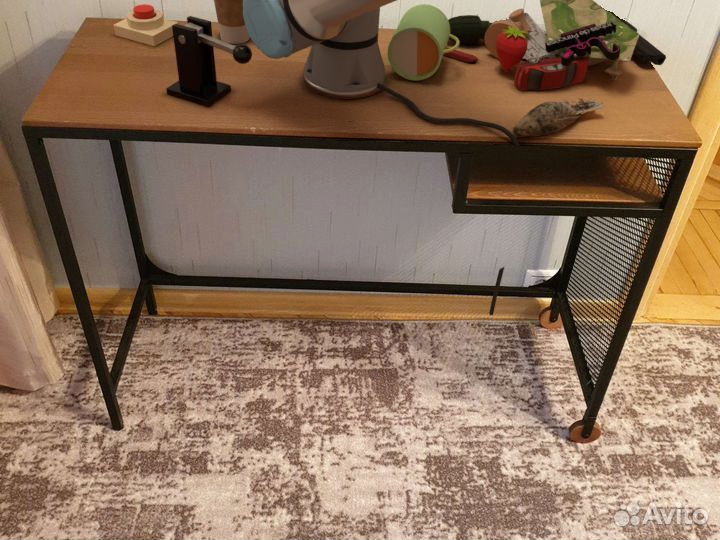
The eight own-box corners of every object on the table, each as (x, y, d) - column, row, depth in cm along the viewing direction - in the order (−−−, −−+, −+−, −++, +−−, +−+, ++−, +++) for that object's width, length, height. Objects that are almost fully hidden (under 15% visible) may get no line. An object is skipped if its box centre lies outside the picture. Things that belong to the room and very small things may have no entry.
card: (552, -15, 154) (552, -18, 153) (671, 2, 141) (672, -2, 140) (502, 46, 144) (501, 42, 143) (625, 70, 131) (625, 66, 131)
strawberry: (515, 62, 145) (524, 13, 138) (526, 79, 139) (537, 29, 133) (486, 62, 144) (495, 13, 137) (497, 80, 138) (506, 29, 132)
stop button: (159, 15, 146) (158, 7, 145) (146, 22, 143) (145, 13, 142) (143, 11, 147) (142, 2, 146) (130, 17, 144) (128, 9, 143)
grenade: (442, 43, 152) (497, 45, 154) (448, 42, 146) (506, 43, 148) (443, 15, 151) (499, 17, 152) (450, 13, 145) (508, 14, 146)
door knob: (499, 6, 149) (514, 41, 153) (478, 29, 144) (494, 64, 147) (532, -6, 143) (547, 30, 147) (511, 18, 138) (528, 54, 142)
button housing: (179, 32, 149) (177, 13, 146) (154, 46, 143) (151, 27, 141) (141, 22, 152) (138, 3, 149) (115, 35, 146) (111, 16, 144)
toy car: (516, 54, 135) (527, 67, 131) (586, 53, 139) (599, 65, 135) (508, 80, 138) (519, 94, 135) (577, 79, 142) (589, 92, 139)
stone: (572, 51, 143) (524, 62, 142) (570, 66, 146) (523, 77, 145) (527, 4, 158) (484, 14, 157) (526, 19, 161) (484, 28, 160)
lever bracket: (231, 91, 131) (226, 22, 122) (208, 107, 126) (201, 36, 117) (190, 79, 134) (182, 10, 125) (166, 94, 129) (156, 24, 120)
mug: (399, 55, 146) (387, 80, 137) (399, 3, 140) (387, 26, 131) (461, 58, 144) (454, 84, 135) (464, 6, 137) (456, 29, 128)
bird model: (503, 106, 120) (497, 132, 123) (530, 121, 117) (523, 148, 120) (585, 80, 130) (577, 105, 134) (611, 93, 127) (603, 119, 130)
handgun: (696, 73, 150) (640, 66, 144) (621, 17, 170) (569, 8, 164) (705, 57, 148) (648, 49, 142) (628, 2, 168) (576, -7, 162)
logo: (610, 17, 137) (634, 46, 130) (610, 25, 138) (634, 53, 132) (543, 39, 137) (563, 69, 131) (543, 46, 138) (563, 76, 132)
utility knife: (474, 64, 143) (478, 61, 145) (475, 59, 143) (479, 56, 144) (422, 49, 148) (427, 46, 149) (423, 44, 147) (427, 41, 148)
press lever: (255, 62, 122) (256, 44, 120) (244, 69, 120) (245, 51, 118) (191, 36, 125) (191, 18, 123) (180, 42, 123) (179, 25, 121)
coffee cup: (207, 43, 145) (200, -34, 136) (223, 27, 152) (217, -48, 142) (247, 49, 144) (242, -28, 134) (261, 32, 150) (258, -42, 141)
